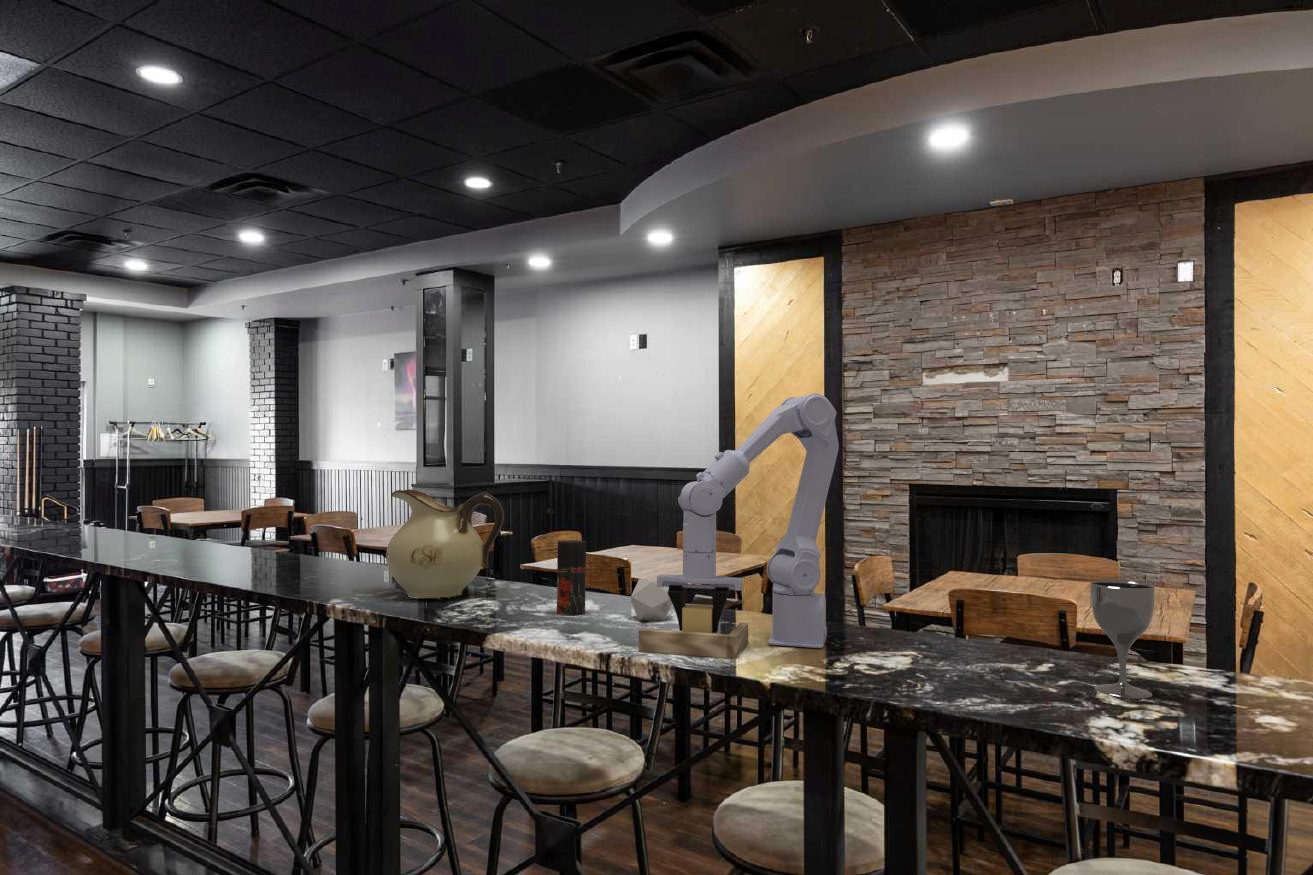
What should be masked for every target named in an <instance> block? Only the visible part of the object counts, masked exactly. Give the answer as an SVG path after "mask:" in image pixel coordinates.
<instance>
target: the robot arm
mask: <svg viewBox="0 0 1313 875" xmlns="http://www.w3.org/2000/svg"><path fill="white" fill-rule="evenodd" d="M836 416H837V411H836V409H835V408H834V406H833V404H832V403H831V401H830V400H829V399H828V398H827V397H826V396H825V395H823V394H822V393H810V394H808V395H803V396H798V397H797V396H792V397H788V398H786V399H785V400H784V401H783V402H782V403H781V404H780V405H778V406H776V407H775V408H773V410H772V411H771V412H770V413H769V415H768V416H767V417H766V418H765V419H764V420H763V421H762V422H761V423H760V424H759V425H758V426H757V428H755V429H754V430H753V432H751V434H750V435H749V436H748V437H747V438H746V439H745V440H744V441H743V442H742V443H741V444H740V445H739V447H737V448H736V449H735V450H734V449H733V450H732V449H726V450H724V451H723V452H721V451H719V452H718V453H716V454H715V455H714V459H715V460H714V461H713V462H712V463H711V464H710V465H709V466H708V467H706V469H705V470H704V471H703V472H702V471H700V472H698V473H696V475H695V477H696V481H691V482H688V483H686V484H685V485H684V486H683V488H681V492H680V493H679V494H680V496H678V497H677V500H678V505H679V506H680V508H681V510H682V511H683V523H682V574H658V575H657V576H656V579H657V587H669V590H668V596H669V598H670V600H671V602H672V604H671V605H673V608H674V611H675V614H676V618H677V622H678V628H679V629H678V630H679V631H682V608H683V607H684V606H686V605H687V593H688V592H687V591H688V589H689V588H690V589H710V590H711V589H712V590H713V591H712V592H711V598H712V599H711V600H712V605H713V621H712V633H716V634H718V631H719V625H720V620H721V616H722V613H723V610H724V607H725V605H726V603H727V600H728V597H729V595H730V594H731V590H732V591H736V592H737V591H739V592H740V591H742V590H743V578H742V577H734V576H721V575H717V511H719V510H720V509H721V507H722V505H723V499H725V498H726V496H728V494H729V493H731V492H732V491H733V490H734V489H735V488H736V487H737V486H738V485H739V484H740V483H741V482H742V481H743V480H744V479H745V478H746V477H747V476H748V475H749V473H750V464H751V463H752V462H753V461H754V460H755V459H756V458H757V457H758V456H760V455H761V453H763V452H764V451H765V450H766V449H767V448H768V447H769V446H771V445H772V444H773V443H774V442H775V441H777V439H779V438H780V437H781V436H783V435H785V434H791V435H793V436H794V437H796V438H797V439H798V440H799V442H800V443H801V445H802V446H803V448H804V449H805V452H806V453H805V458H804V460H803V461H804V462H803V464H802V469H801V473H800V477H799V482H798V485H797V490H796V494H795V497H794V501H793V505H792V510H791V513H790V517H789V522H788V525H787V529H786V533H785V535H784V536H783V537H782V539H780V541H779V542H778V543H777V545H776V549H775V552H774V553H773V555H772V556H771V557H769V559H768V562H767V565H766V572H767V577H768V579H769V580H770V582H771V583H773V584H772V635H771V636H770V638H769V639H768V641H767V645H769V646H770V645H771V646H783V647H784V646H786V647H799V648H813V649H823V648H824V645H825V643H826V640H827V636H828V634H827V633H828V627H827V626H826V625H827V623H826V622H827V620H826V619H827V618H826V614H827V612H826V608H827V607H826V606H827V603H826V601H827V600H826V594H825V593H816V592H815V589H816V588H817V586H818V585H819V583H820V581H821V575H822V574H821V567H820V560H821V551H820V549H819V547H818V545H817V540H818V534H819V530H820V526H821V521H822V518H823V513H824V510H825V506H826V502H827V497H828V492H829V489H830V486H831V481H832V479H833V474H834V469H835V466H836V462H837V457H838V453H839V447H840V446H839V445H840V444H839V439H838V434H837V428H836Z"/></svg>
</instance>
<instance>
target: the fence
mask: <svg viewBox="0 0 1313 875" xmlns="http://www.w3.org/2000/svg"><path fill="white" fill-rule="evenodd" d="M748 644H749V622H739V623H738V624H737V625H736V626H735V628H733V629H732V631H730V633H729V634H728V633H727V634H726V633H716V634H714V633H699V632H683V631H680V630H667V629H654V628H651V629H650V628H640V629H639V630H638V652H639V653H640V652H641V653H655V654H668V655H682V656H694V657H695V656H697V657H707V658H708V657H710V658H722V659H737V658H738V657H739V656H740V655H741V653H742V652H743V651H744V649H745V648H746V647H747V645H748Z"/></svg>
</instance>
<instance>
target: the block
mask: <svg viewBox="0 0 1313 875" xmlns="http://www.w3.org/2000/svg"><path fill="white" fill-rule="evenodd" d="M712 621H713V604H699V603H698V604H697V603H686V606H684V607H683V608H682V631H683V632H699V633H712ZM714 634H717V633H714Z"/></svg>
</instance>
